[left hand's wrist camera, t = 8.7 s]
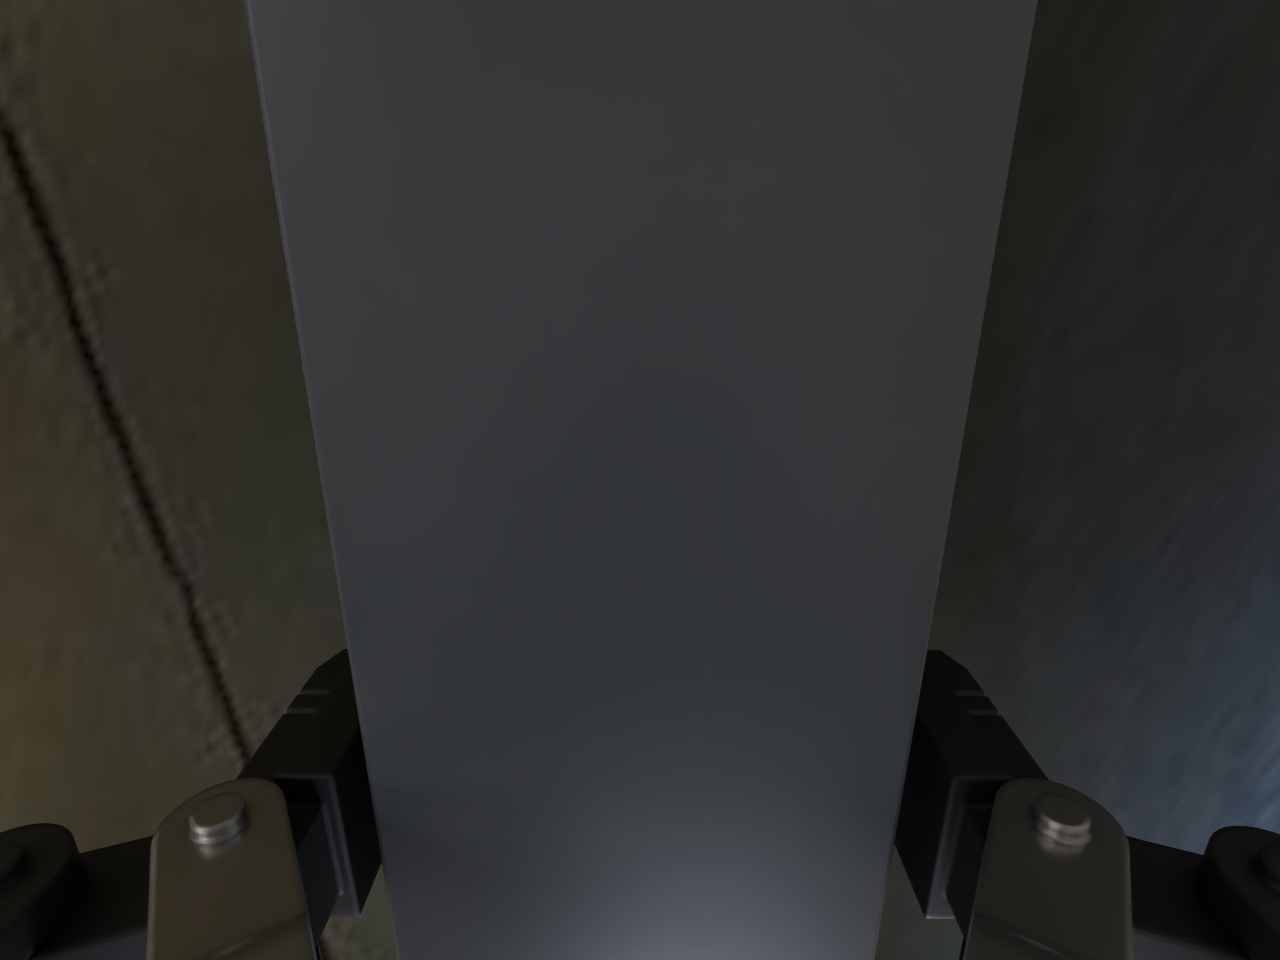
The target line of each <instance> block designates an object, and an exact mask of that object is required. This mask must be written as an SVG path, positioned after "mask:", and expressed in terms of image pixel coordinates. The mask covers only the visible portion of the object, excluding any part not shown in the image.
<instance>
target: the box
mask: <svg viewBox="0 0 1280 960" xmlns="http://www.w3.org/2000/svg"><path fill="white" fill-rule="evenodd" d="M1037 2H1038V0H244V7H245V13H246V19H247V25H248V31H249V38H250V44H251V50H252V56H253V63H254V69H255V75H256V81H257V87H258V94H259V100H260V106H261V112H262V119H263V125H264V131H265V137H266V143H267V150H268V156H269V162H270V168H271V175H272V181H273V187H274V193H275V199H276V206H277V212H278V218H279V224H280V231H281V237H282V243H283V249H284V255H285V262H286V268H287V274H288V280H289V287H290V293H291V299H292V305H293V311H294V318H295V324H296V330H297V336H298V343H299V349H300V355H301V361H302V368H303V374H304V380H305V386H306V392H307V399H308V405H309V411H310V417H311V424H312V430H313V436H314V442H315V448H316V455H317V461H318V467H319V473H320V480H321V486H322V492H323V498H324V504H325V511H326V517H327V523H328V529H329V536H330V542H331V548H332V554H333V560H334V567H335V573H336V579H337V585H338V592H339V598H340V604H341V610H342V616H343V623H344V629H345V635H346V641H347V648H348V654H349V660H350V666H351V672H352V679H353V685H354V691H355V697H356V704H357V710H358V716H359V722H360V728H361V735H362V741H363V747H364V753H365V760H366V766H367V772H368V778H369V784H370V791H371V797H372V803H373V809H374V816H375V822H376V828H377V834H378V841H379V847H380V853H381V859H382V865H383V872H384V878H385V884H386V890H387V897H388V903H389V909H390V915H391V921H392V928H393V934H394V940H395V946H396V953H397V959H398V960H874V959H875V953H876V947H877V941H878V935H879V929H880V924H881V918H882V912H883V906H884V900H885V894H886V888H887V882H888V877H889V871H890V865H891V859H892V853H893V847H894V841H895V836H896V830H897V824H898V818H899V812H900V806H901V800H902V794H903V789H904V783H905V777H906V771H907V765H908V759H909V753H910V748H911V742H912V736H913V730H914V724H915V718H916V712H917V706H918V701H919V695H920V689H921V683H922V677H923V671H924V665H925V660H926V654H927V648H928V642H929V636H930V630H931V624H932V618H933V613H934V607H935V601H936V595H937V589H938V583H939V577H940V571H941V566H942V560H943V554H944V548H945V542H946V536H947V530H948V525H949V519H950V513H951V507H952V501H953V495H954V489H955V483H956V478H957V472H958V466H959V460H960V454H961V448H962V442H963V437H964V431H965V425H966V419H967V413H968V407H969V401H970V395H971V390H972V384H973V378H974V372H975V366H976V360H977V354H978V349H979V343H980V337H981V331H982V325H983V319H984V313H985V307H986V302H987V296H988V290H989V284H990V278H991V272H992V266H993V260H994V255H995V249H996V243H997V237H998V231H999V225H1000V219H1001V214H1002V208H1003V202H1004V196H1005V190H1006V184H1007V178H1008V172H1009V167H1010V161H1011V155H1012V149H1013V143H1014V137H1015V131H1016V126H1017V120H1018V114H1019V108H1020V102H1021V96H1022V90H1023V84H1024V79H1025V73H1026V67H1027V61H1028V55H1029V49H1030V43H1031V37H1032V32H1033V26H1034V20H1035V14H1036V8H1037Z"/></svg>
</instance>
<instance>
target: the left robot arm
mask: <svg viewBox="0 0 1280 960" xmlns="http://www.w3.org/2000/svg"><path fill="white" fill-rule="evenodd" d="M894 844H895V846H896V848H897V851H898V853H899V856H900V858H901V861H902V863H903V865H904V868H905V870H906V873H907V875H908V878H909V880H910V882H911V885H912V887H913V890H914V892H915V895H916V897H917V899H918V902H919V904H920V907H921V909H922V912H923V914H924V916H925V919H956V921H957V923H958V925H959V927H960V929H961V932H962V934H963V936H964V937H963V941H962V946H961V950H960V955H959V960H1280V834H1277V833H1274V832H1271V831H1267V830H1263V829H1259V828H1254V827H1248V826H1230V827H1224V828H1221V829H1219V830H1217V831H1216V832H1214V833H1213V834H1212V836H1211V837H1210V839H1209V842H1208V845H1207V847H1206V850H1205V853H1204V855H1201V854H1197V853H1192V852H1188V851H1184V850H1180V849H1176V848H1172V847H1168V846H1164V845H1160V844H1155V843H1151V842H1147V841H1143V840H1139V839H1136V838H1132V837H1129V836H1126V834H1125V832H1124V830H1123V829H1122V827H1121V826H1120V824H1119V823H1118V822H1117V821H1116V819H1115V818H1114V817H1113V816H1112V815H1111V814H1110V813H1109V812H1108V811H1107V810H1106V809H1105V808H1103V807H1102V806H1101V805H1099V804H1098V803H1097V802H1095V801H1094V800H1093V799H1091V798H1089V797H1088V796H1086V795H1084V794H1083V793H1081V792H1079V791H1077V790H1075V789H1073V788H1070V787H1068V786H1065V785H1063V784H1059V783H1056V782H1053V781H1049V780H1048V778H1047V777H1046V776H1045V774H1044V773H1043V771H1042V770H1041V769H1040V767H1039V766H1038V765H1037V763H1036V762H1035V761H1034V759H1033V758H1032V757H1031V755H1030V754H1029V752H1028V751H1027V750H1026V748H1025V747H1024V746H1023V744H1022V743H1021V742H1020V740H1019V739H1018V738H1017V736H1016V735H1015V733H1014V732H1013V731H1012V729H1011V728H1010V727H1009V725H1008V724H1007V723H1006V721H1005V720H1004V719H1003V717H1002V716H998V710H997V709H996V708H995V706H994V705H993V704H992V702H991V701H990V700H989V698H988V697H985V696H984V691H983V690H982V689H981V687H980V686H979V685H978V683H977V682H976V681H975V679H974V678H973V676H972V675H971V674H970V672H969V671H968V670H967V669H966V668H964V667H963V666H962V665H960V664H959V663H957V662H956V661H955V660H953V659H952V658H950V657H949V656H948V655H946V654H945V653H943V652H942V651H941V650H927V654H926V660H925V665H924V671H923V677H922V683H921V689H920V695H919V701H918V706H917V712H916V718H915V724H914V730H913V736H912V742H911V748H910V753H909V759H908V765H907V771H906V777H905V783H904V789H903V794H902V800H901V806H900V812H899V818H898V824H897V830H896V836H895V841H894ZM381 862H382V859H381V853H380V847H379V841H378V834H377V828H376V822H375V816H374V809H373V803H372V797H371V791H370V784H369V778H368V772H367V766H366V760H365V753H364V747H363V741H362V735H361V728H360V722H359V716H358V710H357V704H356V697H355V691H354V685H353V679H352V672H351V666H350V660H349V654H348V649H343V650H342V651H340V652H339V653H338V654H336V655H335V656H333V657H332V658H331V659H329V660H328V661H326V662H325V663H324V664H322V665H321V666H319V667H318V668H317V669H316V670H315V672H314V673H313V674H312V676H311V677H310V678H309V680H308V681H307V683H306V684H305V685H304V687H303V688H302V689H301V694H300V695H297V696H296V698H295V699H294V700H293V702H292V703H291V705H290V706H289V707H288V709H287V714H283V715H282V717H281V718H280V720H279V721H278V722H277V724H276V725H275V726H274V728H273V729H272V731H271V732H270V733H269V735H268V736H267V737H266V739H265V740H264V742H263V743H262V744H261V746H260V747H259V748H258V750H257V751H256V753H255V754H254V755H253V757H252V758H251V759H250V761H249V762H248V763H247V765H246V766H245V768H244V769H243V770H242V772H241V773H240V774H239V776H238V777H237V779H236V780H232V781H227V782H224V783H221V784H217V785H215V786H212V787H210V788H207V789H205V790H203V791H201V792H199V793H197V794H196V795H194V796H192V797H191V798H189V799H187V800H186V801H185V802H183V803H182V804H181V805H179V806H178V807H177V808H175V809H174V810H173V811H172V812H171V813H170V814H169V815H168V816H167V817H166V818H165V819H164V821H163V822H162V823H161V824H160V826H159V827H158V829H157V830H156V832H155V834H154V835H153V836H149V837H146V838H142V839H138V840H134V841H129V842H125V843H121V844H117V845H113V846H109V847H105V848H101V849H96V850H92V851H88V852H84V853H79V851H78V848H77V845H76V843H75V840H74V837H73V835H72V834H71V832H70V831H69V830H68V829H67V828H65V827H64V826H60V825H57V824H50V823H40V824H31V825H25V826H21V827H17V828H13V829H10V830H7V831H4V832H1V833H0V960H321V955H320V950H319V946H318V941H319V939H320V937H321V935H322V932H323V930H324V928H325V926H326V924H327V921H328V919H329V917H330V916H360V914H361V912H362V909H363V907H364V904H365V902H366V899H367V897H368V894H369V892H370V890H371V887H372V885H373V882H374V880H375V877H376V875H377V872H378V870H379V867H380V865H381Z"/></svg>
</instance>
